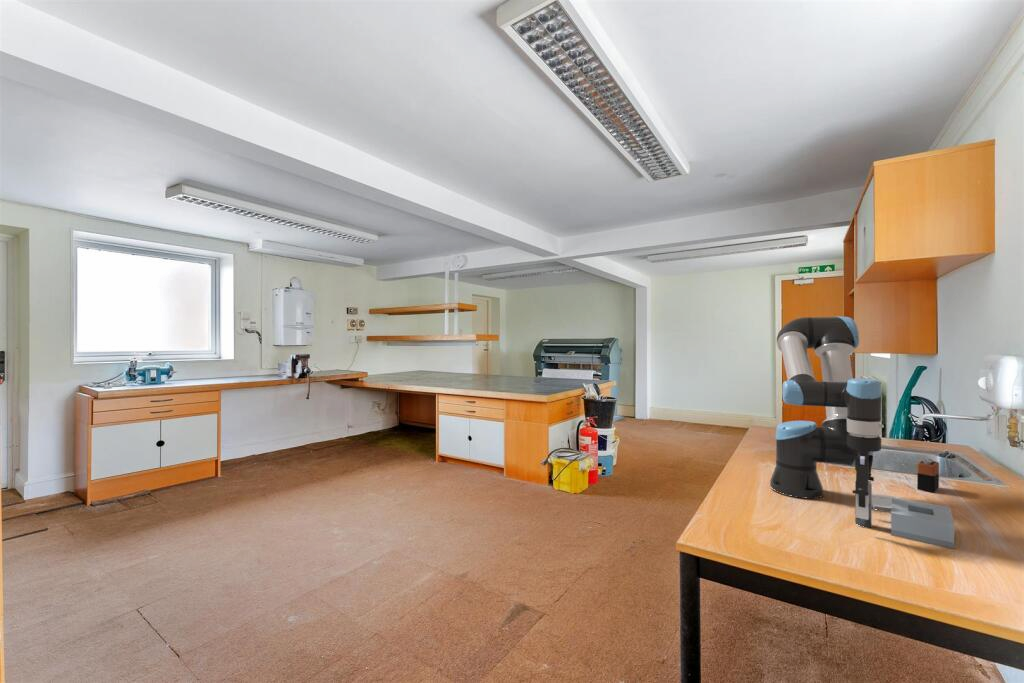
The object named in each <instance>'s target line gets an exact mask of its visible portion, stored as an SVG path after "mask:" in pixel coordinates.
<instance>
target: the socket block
mask: <svg viewBox="0 0 1024 683" xmlns="http://www.w3.org/2000/svg"><path fill="white" fill-rule="evenodd" d="M894 497H895V496H894ZM894 497H892V508H891V512H890V513H891V514H890V520H891V522H890V523H891V524H890V526H891V527H890V535H891V536H893V535H894V537H898V538H903V539H907V540H912V541H917V542H922V543H924V544H931V545H935V546H939V547H944V548H949V549H955V522H954V519H953V515H952V512H951V507H950V506H944V505H940V504H939V505H938V504H932V503H928V502H921V501H917V500H916V501H915V500H910V499H906V498H900V497H896V498H894Z"/></svg>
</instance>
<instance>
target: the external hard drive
mask: <svg viewBox="0 0 1024 683" xmlns="http://www.w3.org/2000/svg"><path fill="white" fill-rule="evenodd" d="M892 497H894V498H897V497H896V496H894V495H886V494H879V493H872V510H873V509H877V510H876V511H879V510H882V511H881V512H887V511H891V508H892Z"/></svg>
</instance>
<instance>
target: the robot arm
mask: <svg viewBox="0 0 1024 683" xmlns="http://www.w3.org/2000/svg"><path fill="white" fill-rule="evenodd" d="M859 336H860V335H859V329H858V326H857V324H856V322H855V320H854V319H853V318H851V317H850V316H849V317H848V316H839V315H838V316H837V315H836V316H817V317H816V316H815V317H814V316H813V317H812V316H811V317H809V316H808V317H807V316H806V317H798V318H794V319H792V320H791V321H788V322H787V323H785V325H783V326H782V328H781V329H780V330H779V332H778V333H777V335H776V345H777V349H779V351H780V352H781V353H782V359H783V364H784V369H785V374H786V378H787V380H785V381H782V382H783V383H782V387H781V388H782V401H783V403H785V405H792V406H793V405H795V406H797V407H798V406H807V407H809V406H810V407H811V406H812V407H825V415H826V418H825V419H824V420H823V421H822V423H821V426H818V424H817V423H816V421H815V422H814V421H811V420H789V421H784V422H780V423H778V425H777V426H776V429H775V430H776V431H775V441H776V442H775V451H776V452H775V467H774V470H773V472H772V476H771V478H770V482H769V486H771V487H772V488H773V489H775V490H776V491H778V492H781V493H784V494H787V495H792V496H797V497H807V498H806V499H809V498H810V499H816V498H815V497H819V498H821V497H823V496H824V488H823V485H822V482H821V479H820V477H819V474H818V471H817V463H823V464H832V465H833V464H834V465H842V466H850V467H854V469H855V471H856V472H855V473H856V474H855V481H856V490H855V489H854V490H852V494H856V517H857V518H862V519H866V520H868V519H869V495H868V482H870V483H871V484H872V482H874V481H875V477H874V476H872V467H873V462H874V456H873V455H874V452H879V451H881V450H882V437H881V435H882V429H883V428H885V426H884V424H882V395H883V390H882V383H881V381H879V380H877V379H872V378H853V371H852V363H851V357H850V356H851V355H853V353H854V352H855V349H857V348H858V347H859V344H860V338H859ZM808 349H811V350H812V349H813V350H814V355H816V356H817V357H819V360H820V368H821V376H822V381H817V379H816V377H815V374H814V370H813V367H812V364H811V359H810V356H809V353H808ZM861 489H864V490H861ZM778 492H777V493H778ZM787 495H786V496H787ZM820 496H821V497H820ZM797 497H796V498H797Z"/></svg>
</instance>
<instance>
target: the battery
mask: <svg viewBox="0 0 1024 683" xmlns="http://www.w3.org/2000/svg"><path fill="white" fill-rule="evenodd" d="M916 468H917V474H916V475H917V480H916V481H917V484H916V486H917V490H918V491H923V492H929V493H932V492H933V493H936V491H937V490H939V488H940V484H939V483H940V482H939V481H940V463H939V462H938V461H935V460H933V458H926V459H921V460H920V461H919V462H918V463H917V467H916Z"/></svg>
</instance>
